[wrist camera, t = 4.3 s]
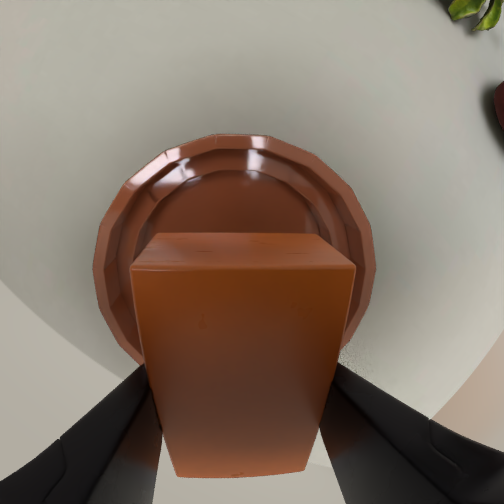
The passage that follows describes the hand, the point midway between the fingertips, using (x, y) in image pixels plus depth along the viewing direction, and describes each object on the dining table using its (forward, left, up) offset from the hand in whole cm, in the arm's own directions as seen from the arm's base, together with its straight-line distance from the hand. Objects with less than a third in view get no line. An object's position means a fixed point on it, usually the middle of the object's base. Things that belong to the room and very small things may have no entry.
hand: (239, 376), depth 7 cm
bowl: (0, 0, -10) cm, 10 cm away
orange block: (0, 0, -2) cm, 2 cm away
